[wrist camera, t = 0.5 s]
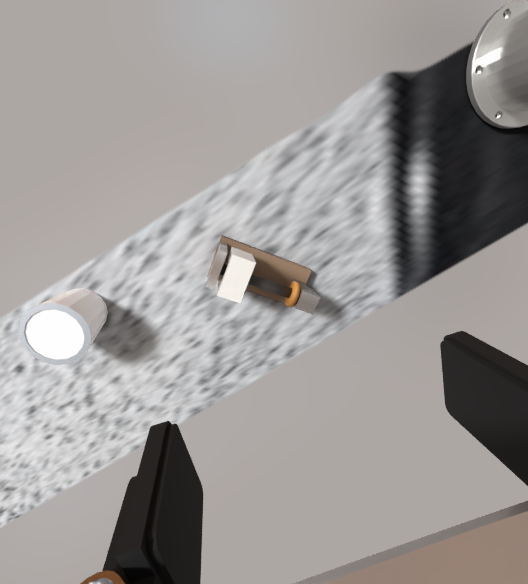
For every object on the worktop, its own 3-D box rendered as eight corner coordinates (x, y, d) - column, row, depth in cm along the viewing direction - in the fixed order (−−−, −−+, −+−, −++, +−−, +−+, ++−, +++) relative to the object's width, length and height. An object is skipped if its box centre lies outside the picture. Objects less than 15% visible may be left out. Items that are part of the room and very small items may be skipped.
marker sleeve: (231, 246, 35) (232, 254, 31) (252, 254, 36) (256, 263, 31) (218, 283, 36) (217, 295, 32) (238, 290, 37) (240, 303, 32)
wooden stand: (221, 235, 38) (221, 245, 31) (308, 268, 41) (326, 284, 34) (208, 273, 39) (204, 292, 32) (293, 303, 42) (307, 326, 35)
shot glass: (43, 321, 39) (6, 348, 32) (66, 272, 38) (32, 291, 31) (99, 345, 41) (74, 375, 34) (122, 300, 39) (102, 322, 33)
